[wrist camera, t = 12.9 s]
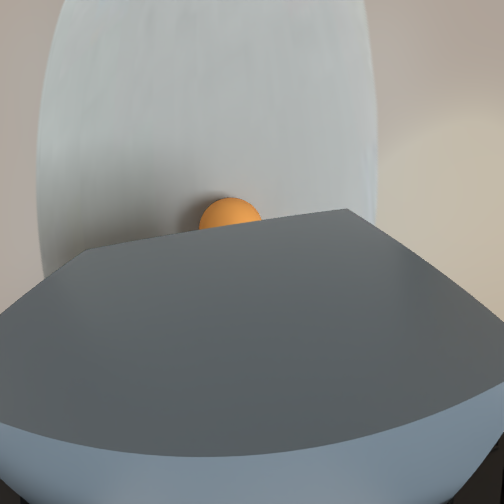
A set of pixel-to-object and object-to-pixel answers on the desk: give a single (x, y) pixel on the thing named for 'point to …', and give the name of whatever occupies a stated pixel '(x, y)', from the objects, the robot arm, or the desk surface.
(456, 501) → the robot arm
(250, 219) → the ball
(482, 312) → the grey-blue box
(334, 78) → the desk surface
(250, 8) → the desk surface
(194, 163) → the desk surface
